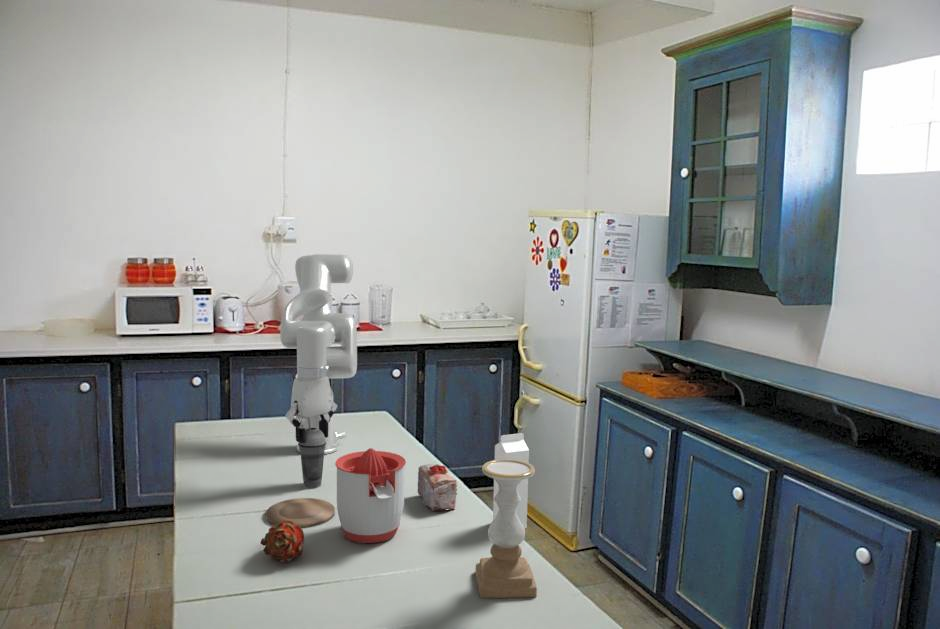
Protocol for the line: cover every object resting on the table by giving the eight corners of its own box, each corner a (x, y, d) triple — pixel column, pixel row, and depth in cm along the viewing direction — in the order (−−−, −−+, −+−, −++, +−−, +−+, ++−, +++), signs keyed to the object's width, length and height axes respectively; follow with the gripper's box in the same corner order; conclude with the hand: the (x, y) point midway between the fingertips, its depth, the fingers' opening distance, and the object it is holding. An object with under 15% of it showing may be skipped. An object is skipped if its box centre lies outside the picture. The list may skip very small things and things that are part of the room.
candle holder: (474, 571, 152) (477, 458, 149) (528, 570, 153) (531, 457, 150) (480, 598, 141) (483, 476, 138) (537, 597, 142) (541, 476, 139)
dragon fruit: (284, 579, 150) (277, 562, 162) (318, 550, 153) (309, 535, 164) (257, 548, 149) (252, 533, 160) (291, 519, 151) (285, 506, 162)
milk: (526, 528, 174) (530, 436, 171) (503, 532, 172) (506, 439, 169) (514, 518, 180) (518, 429, 177) (491, 522, 177) (495, 431, 174)
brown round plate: (307, 497, 190) (307, 492, 190) (348, 514, 180) (348, 510, 180) (252, 514, 178) (252, 510, 178) (292, 534, 168) (292, 529, 168)
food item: (460, 511, 183) (461, 472, 182) (430, 515, 180) (430, 476, 179) (441, 492, 196) (441, 455, 195) (412, 496, 193) (412, 459, 192)
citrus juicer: (350, 557, 157) (350, 465, 155) (326, 526, 172) (326, 442, 170) (419, 544, 164) (420, 456, 162) (390, 515, 180) (390, 434, 177)
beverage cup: (319, 491, 194) (319, 416, 192) (293, 488, 196) (293, 414, 193) (330, 481, 202) (330, 409, 199) (305, 479, 203) (304, 407, 200)
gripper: (329, 366, 204) (329, 429, 206) (275, 375, 191) (275, 443, 193) (347, 370, 199) (347, 435, 201) (292, 379, 186) (293, 449, 188)
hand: (312, 438), depth 197 cm, fingers closed on beverage cup, 6 cm apart
